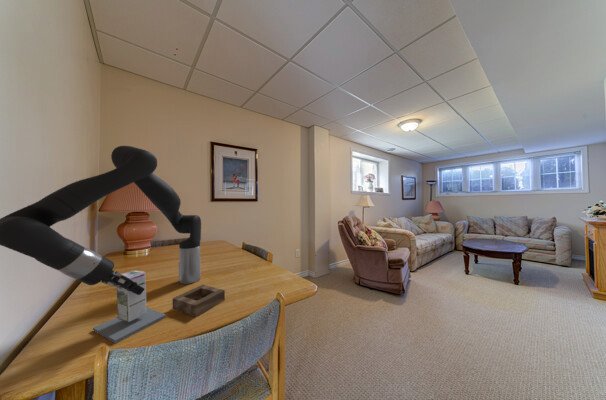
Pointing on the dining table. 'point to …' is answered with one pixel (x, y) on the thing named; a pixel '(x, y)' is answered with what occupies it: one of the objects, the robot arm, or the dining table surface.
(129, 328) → the mat
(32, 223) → the robot arm
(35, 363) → the dining table surface
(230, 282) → the dining table surface
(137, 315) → the syrup box
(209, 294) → the socket block
